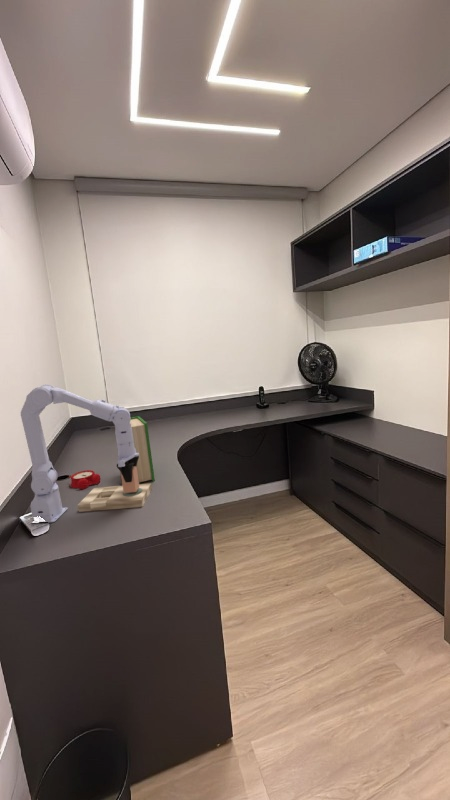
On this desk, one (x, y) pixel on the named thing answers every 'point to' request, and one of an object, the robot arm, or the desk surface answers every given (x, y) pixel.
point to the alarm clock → (84, 479)
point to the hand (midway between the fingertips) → (130, 479)
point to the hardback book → (142, 449)
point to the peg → (132, 485)
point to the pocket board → (114, 498)
